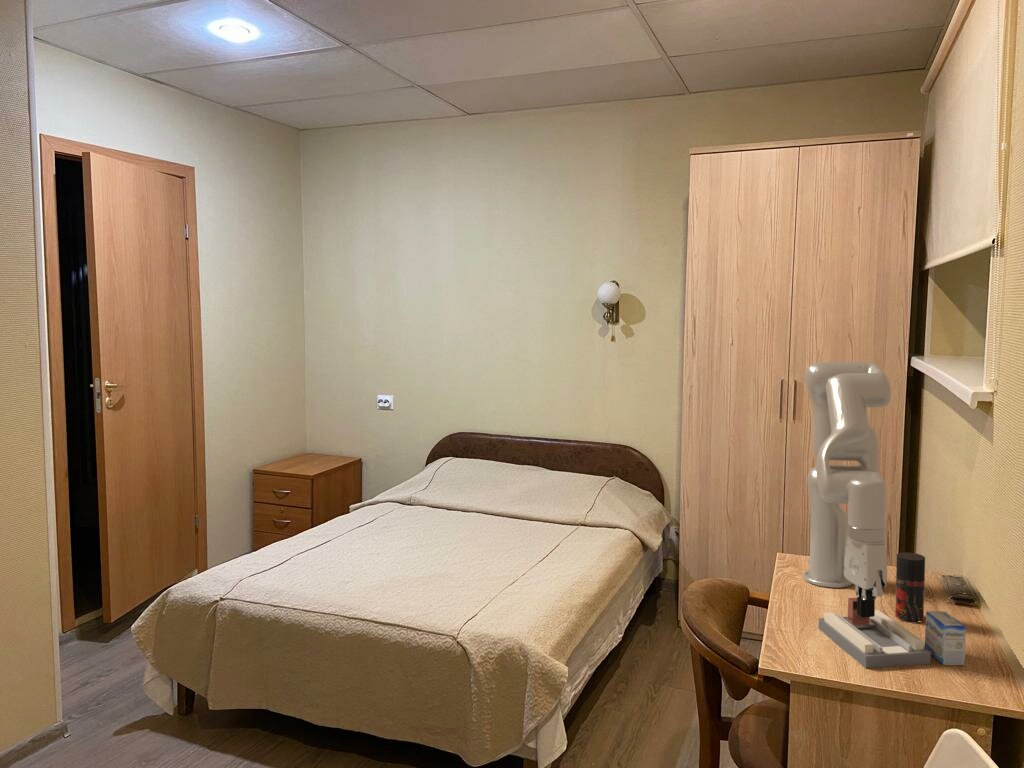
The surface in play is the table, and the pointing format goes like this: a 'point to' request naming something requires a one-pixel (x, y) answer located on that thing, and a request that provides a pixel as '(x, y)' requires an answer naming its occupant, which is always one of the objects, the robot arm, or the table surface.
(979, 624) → the table surface
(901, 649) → the breaker panel
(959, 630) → the medicine box
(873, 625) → the lever
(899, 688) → the table surface
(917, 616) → the deodorant
